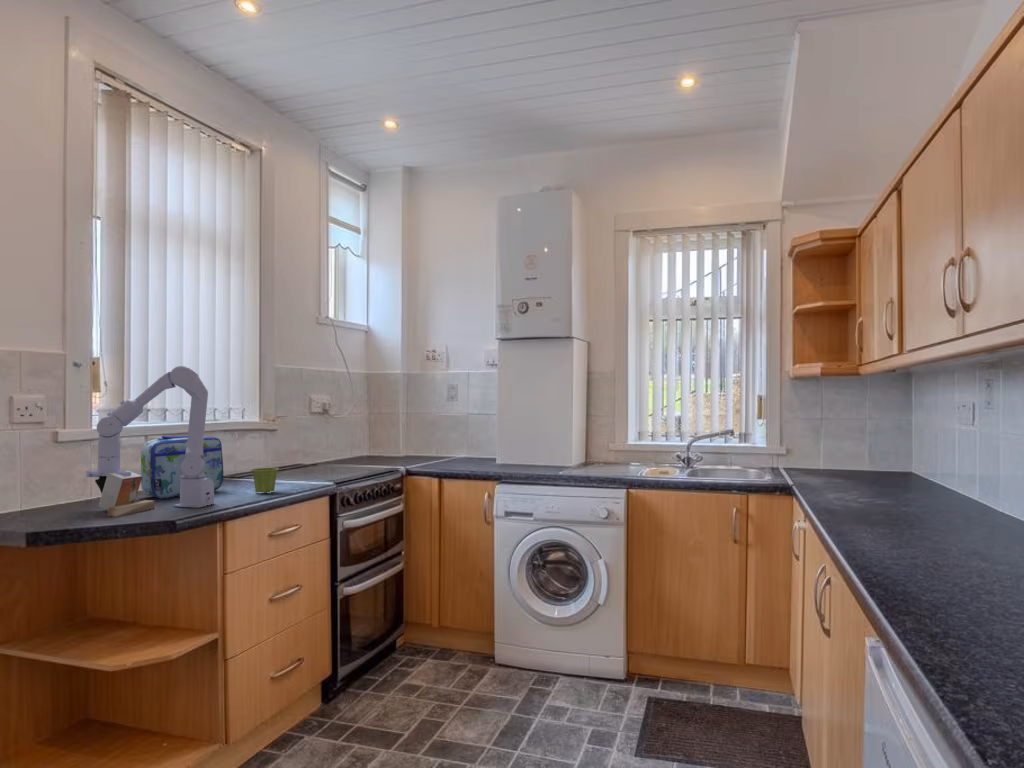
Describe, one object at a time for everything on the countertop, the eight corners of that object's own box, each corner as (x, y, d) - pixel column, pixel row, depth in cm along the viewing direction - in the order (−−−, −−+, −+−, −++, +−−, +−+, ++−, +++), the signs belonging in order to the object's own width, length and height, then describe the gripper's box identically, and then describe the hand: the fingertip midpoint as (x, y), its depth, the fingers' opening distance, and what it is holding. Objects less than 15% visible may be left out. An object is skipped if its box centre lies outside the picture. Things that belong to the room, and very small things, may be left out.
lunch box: (152, 501, 209) (153, 437, 209) (136, 498, 215) (137, 436, 215) (226, 491, 230) (227, 434, 231) (209, 489, 236) (210, 433, 237)
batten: (154, 508, 194) (154, 500, 194) (116, 516, 181) (116, 508, 181) (146, 508, 195) (146, 500, 195) (107, 516, 181) (107, 507, 181)
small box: (112, 512, 187) (122, 478, 187) (97, 506, 188) (107, 472, 188) (133, 508, 195) (143, 475, 195) (119, 502, 196) (128, 470, 196)
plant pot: (244, 494, 225) (245, 469, 225) (264, 490, 234) (264, 467, 234) (265, 495, 221) (265, 470, 222) (284, 492, 230) (284, 468, 230)
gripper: (77, 457, 190) (76, 502, 190) (118, 458, 187) (116, 504, 187) (98, 455, 197) (97, 499, 197) (137, 456, 194) (136, 501, 194)
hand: (108, 501), depth 192 cm, fingers closed
